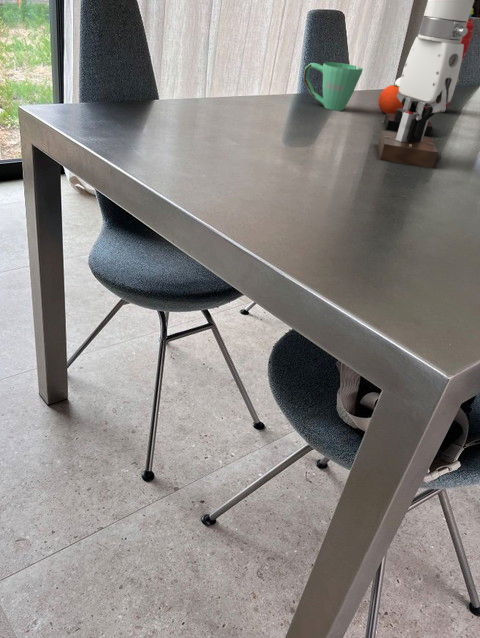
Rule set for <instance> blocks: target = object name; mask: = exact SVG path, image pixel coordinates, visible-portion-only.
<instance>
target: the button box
mask: <svg viewBox="0 0 480 638" xmlns="http://www.w3.org/2000/svg"><path fill="white" fill-rule="evenodd" d="M402 111H403V108H399V109H397V111H396V113H395V114H394V113H386V114H385V117H384V121H383V122H384V127H385V131H389V132H395V133H398V129H399V126H400V123H401V119H402V116H403V114H402ZM433 127H434V126H433V125H432V123H431V121H430V120H428V123H427V127H426V130H425V133H424V136H423V137H428V138H431V134H432V131H433V129H434V128H433Z"/></svg>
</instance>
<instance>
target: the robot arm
mask: <svg viewBox="0 0 480 638" xmlns="http://www.w3.org/2000/svg"><path fill="white" fill-rule="evenodd" d="M474 3H475V0H427V3H426V6H425V10H424V13H423V17H422V20H421V23H420V27H419V29H418V34H417V36H416V37H415V39H414V41H413V43H412V45H411V48H410V50H409V53H408V55H407V58H406V61H405V63H404V66H403V70H402V73H401V76H400V78H401V80H400V84H399V92H398V94H397V98H398V100H399V101H400V102H401V103H402V107H403V111H402V114H403V112H405V111H410V112H417V114H416V119H413V120H412V123H411V126H410V129H409V133H408V136H407V141H409V142H419V141H420V140H421V138H422V135H423V131H424V128H425V125H426V122H427V120H429V121H430V120H431V119H432V117H433V116H434V115H436V114H439V113H444V112H445V111H446V109H447V108H446V104H447V103H449V102H450V103H451V101H452V98H453V96H454V92H455V89H456V86H457V84H458V83H457V79H458V77H459V74H460V71H461V66H462V64H461V62H462V63H463V61H462V56H463V48H464V44H461V40H462V37H463V36H465V35H466V34H467V32H468V29H467V28H466V25H467V21H468V19H469V15H470V12H471V9H472V8H473V6H474ZM450 103H449V104H450ZM426 106H428V107H427V108H426ZM425 108H426V109H425Z"/></svg>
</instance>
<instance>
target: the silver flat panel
mask: <svg viewBox="0 0 480 638" xmlns="http://www.w3.org/2000/svg"><path fill="white" fill-rule="evenodd" d="M416 114H417V112H410V111H405V112H403V116H402V119H401V123H400V126H399V129H398V132H396V133H397V136H396V140H398V141H400V142H409V141H407V136H408V133H409V129H410V126H411V123H412V120H413V119H416ZM427 123H428V120H427V122H426V125H425V128H424V131H423V135H422V138H421V140H420V141H422V139H423V137H425V136H424V133H425V130H426V127H427Z"/></svg>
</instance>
